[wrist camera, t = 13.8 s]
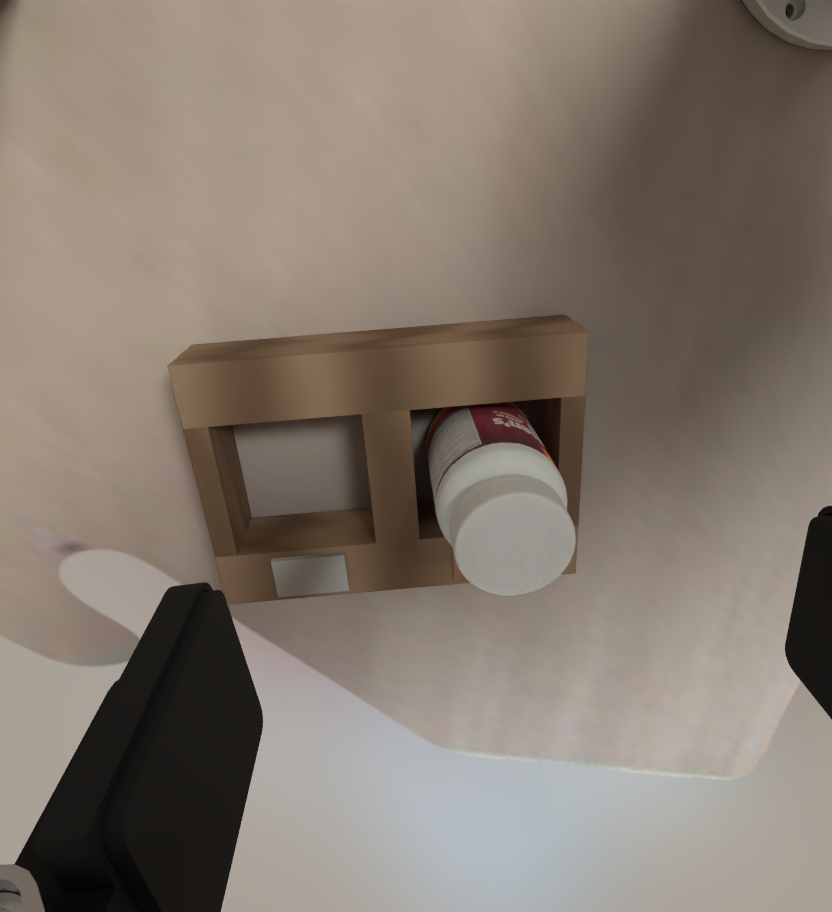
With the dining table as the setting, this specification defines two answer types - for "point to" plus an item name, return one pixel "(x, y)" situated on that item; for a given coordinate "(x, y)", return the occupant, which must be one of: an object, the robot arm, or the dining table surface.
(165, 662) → the robot arm
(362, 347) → the socket board
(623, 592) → the dining table surface
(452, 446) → the pill bottle
